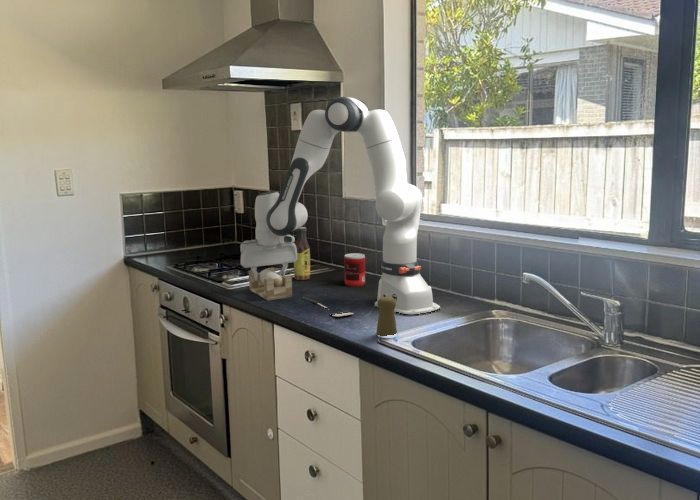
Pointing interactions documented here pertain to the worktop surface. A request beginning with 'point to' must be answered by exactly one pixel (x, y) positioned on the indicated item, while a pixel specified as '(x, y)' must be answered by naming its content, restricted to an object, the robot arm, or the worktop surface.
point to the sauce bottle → (302, 256)
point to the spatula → (326, 307)
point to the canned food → (354, 269)
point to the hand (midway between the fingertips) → (269, 277)
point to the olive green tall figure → (386, 316)
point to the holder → (270, 287)
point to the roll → (271, 275)
